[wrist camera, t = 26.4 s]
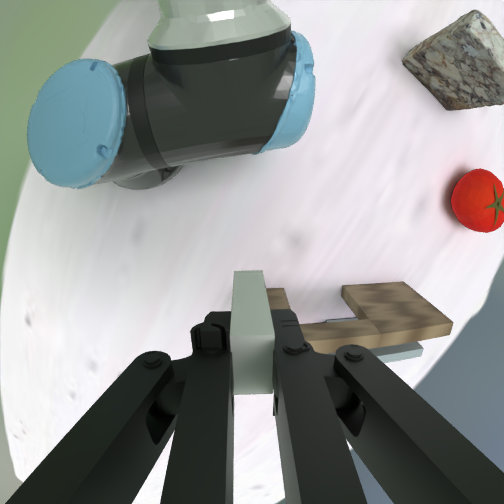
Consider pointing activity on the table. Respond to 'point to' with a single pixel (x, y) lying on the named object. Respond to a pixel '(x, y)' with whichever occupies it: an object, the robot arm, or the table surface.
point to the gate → (392, 349)
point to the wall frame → (373, 318)
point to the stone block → (462, 63)
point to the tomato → (479, 201)
